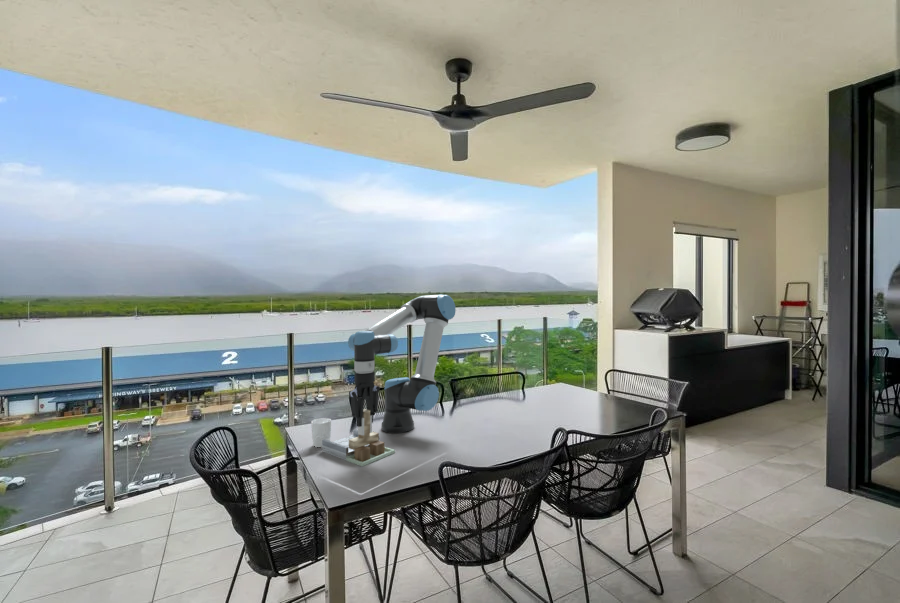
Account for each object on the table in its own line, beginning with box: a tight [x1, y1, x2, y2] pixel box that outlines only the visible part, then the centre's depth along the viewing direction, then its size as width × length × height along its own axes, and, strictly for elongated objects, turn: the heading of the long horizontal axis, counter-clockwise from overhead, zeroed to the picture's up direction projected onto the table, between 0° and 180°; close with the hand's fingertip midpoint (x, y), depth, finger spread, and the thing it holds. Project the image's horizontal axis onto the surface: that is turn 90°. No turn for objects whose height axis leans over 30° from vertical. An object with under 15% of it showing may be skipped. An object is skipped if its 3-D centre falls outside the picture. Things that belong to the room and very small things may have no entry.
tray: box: [345, 446, 396, 467], centre depth 148 cm, size 16×9×2 cm, turn 142°
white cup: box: [310, 417, 332, 448], centre depth 162 cm, size 8×8×10 cm
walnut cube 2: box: [370, 440, 386, 456], centre depth 151 cm, size 4×4×4 cm
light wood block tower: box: [349, 408, 380, 450], centre depth 150 cm, size 12×3×13 cm, turn 142°
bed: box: [321, 429, 370, 461], centre depth 155 cm, size 16×15×5 cm
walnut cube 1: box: [354, 446, 370, 462], centre depth 145 cm, size 4×4×4 cm
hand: (365, 433), depth 150 cm, fingers closed on light wood block tower, 3 cm apart
